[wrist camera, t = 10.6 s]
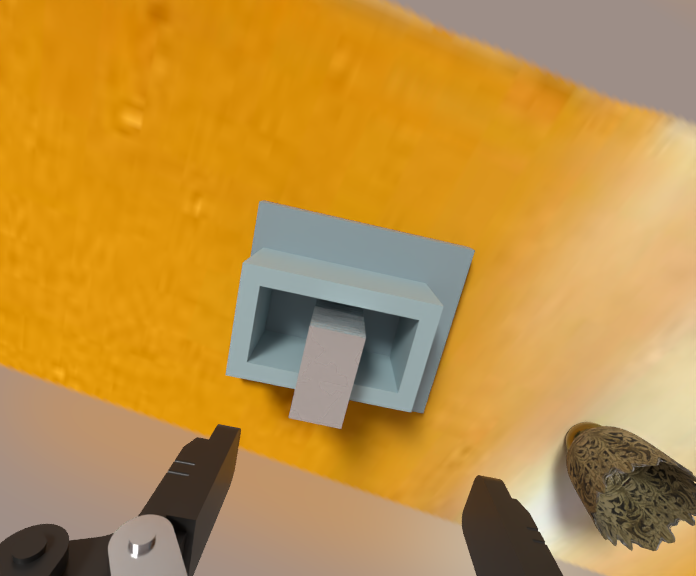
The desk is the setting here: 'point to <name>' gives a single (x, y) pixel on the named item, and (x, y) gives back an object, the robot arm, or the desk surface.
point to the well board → (347, 301)
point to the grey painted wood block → (329, 364)
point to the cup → (629, 485)
